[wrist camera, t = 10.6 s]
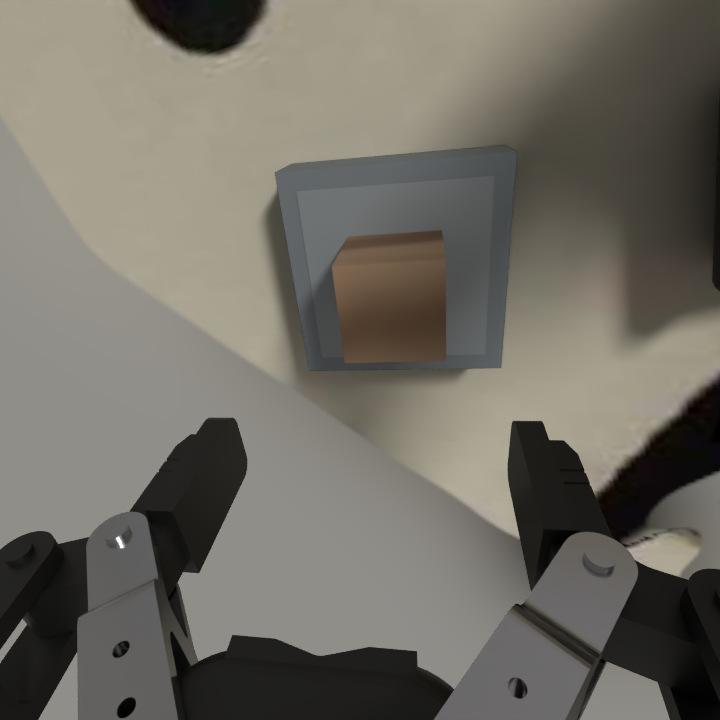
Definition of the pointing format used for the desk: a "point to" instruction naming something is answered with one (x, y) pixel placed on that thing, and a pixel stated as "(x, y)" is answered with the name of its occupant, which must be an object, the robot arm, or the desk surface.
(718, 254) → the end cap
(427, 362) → the plinth
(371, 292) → the walnut cube
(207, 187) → the desk surface
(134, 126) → the desk surface
